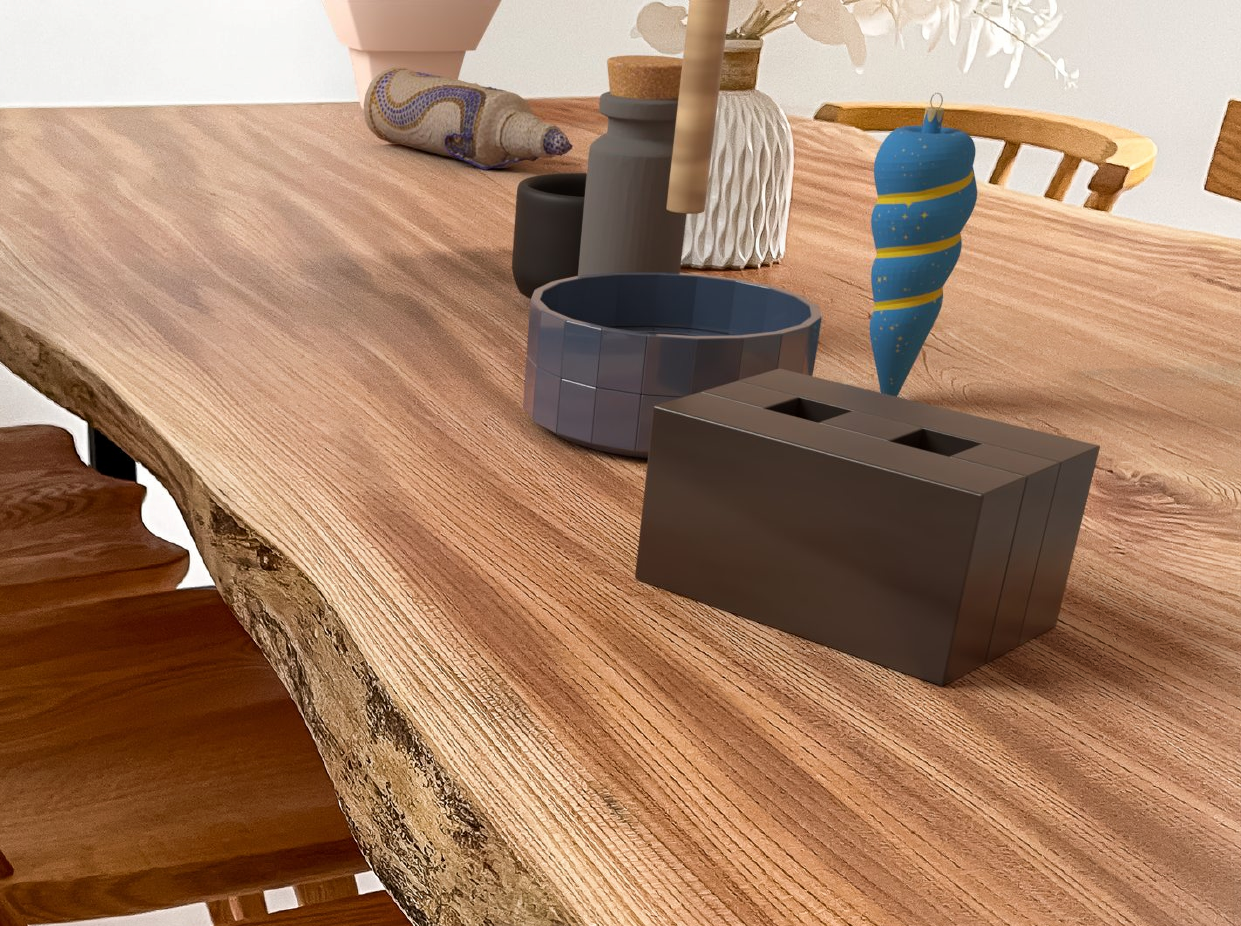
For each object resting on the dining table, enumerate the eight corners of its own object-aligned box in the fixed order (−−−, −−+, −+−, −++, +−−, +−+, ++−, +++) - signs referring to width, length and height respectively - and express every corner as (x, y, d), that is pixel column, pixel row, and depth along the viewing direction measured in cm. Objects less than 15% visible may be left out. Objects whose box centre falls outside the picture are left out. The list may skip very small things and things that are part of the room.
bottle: (691, 339, 104) (725, 61, 96) (632, 356, 100) (662, 69, 92) (612, 320, 107) (638, 50, 99) (552, 336, 104) (575, 58, 96)
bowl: (297, 107, 187) (297, -40, 180) (473, 106, 190) (480, -39, 183) (327, 133, 171) (328, -27, 164) (517, 132, 175) (528, -25, 167)
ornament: (889, 418, 90) (946, 102, 83) (815, 394, 94) (863, 89, 86) (956, 404, 93) (1017, 96, 85) (881, 381, 96) (934, 84, 89)
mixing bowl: (638, 372, 97) (649, 260, 94) (856, 429, 89) (877, 307, 85) (466, 419, 89) (473, 297, 86) (689, 486, 80) (705, 354, 77)
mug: (500, 287, 114) (508, 171, 111) (636, 288, 115) (648, 172, 111) (526, 333, 104) (536, 208, 101) (675, 335, 105) (690, 210, 101)
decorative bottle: (356, 145, 165) (358, 67, 162) (421, 140, 169) (425, 64, 165) (525, 187, 147) (532, 101, 143) (594, 181, 150) (602, 97, 147)
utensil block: (755, 532, 75) (779, 368, 71) (1056, 626, 67) (1101, 445, 63) (633, 579, 70) (652, 405, 66) (942, 687, 62) (983, 494, 58)
